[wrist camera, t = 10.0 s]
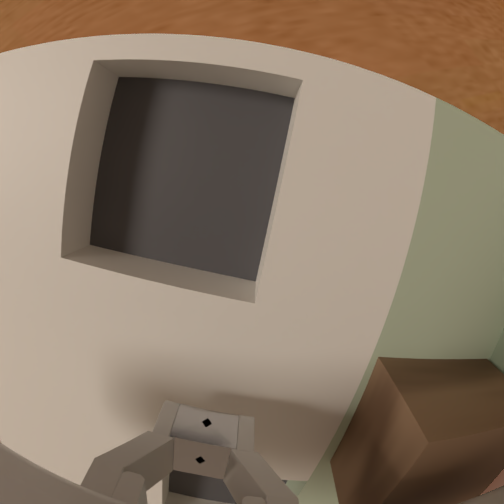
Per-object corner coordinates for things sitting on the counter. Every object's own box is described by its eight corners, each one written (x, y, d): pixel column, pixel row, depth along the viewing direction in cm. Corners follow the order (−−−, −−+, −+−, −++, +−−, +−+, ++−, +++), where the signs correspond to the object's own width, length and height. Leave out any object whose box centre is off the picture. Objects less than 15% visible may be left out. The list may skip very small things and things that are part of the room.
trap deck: (6, 69, 10) (-51, 52, 6) (520, 169, 11) (583, 173, 6) (21, 434, 16) (-5, 468, 11) (362, 509, 16) (373, 552, 12)
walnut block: (378, 356, 10) (428, 442, 6) (487, 358, 10) (543, 413, 6) (329, 461, 11) (346, 539, 7) (432, 452, 11) (463, 511, 7)
